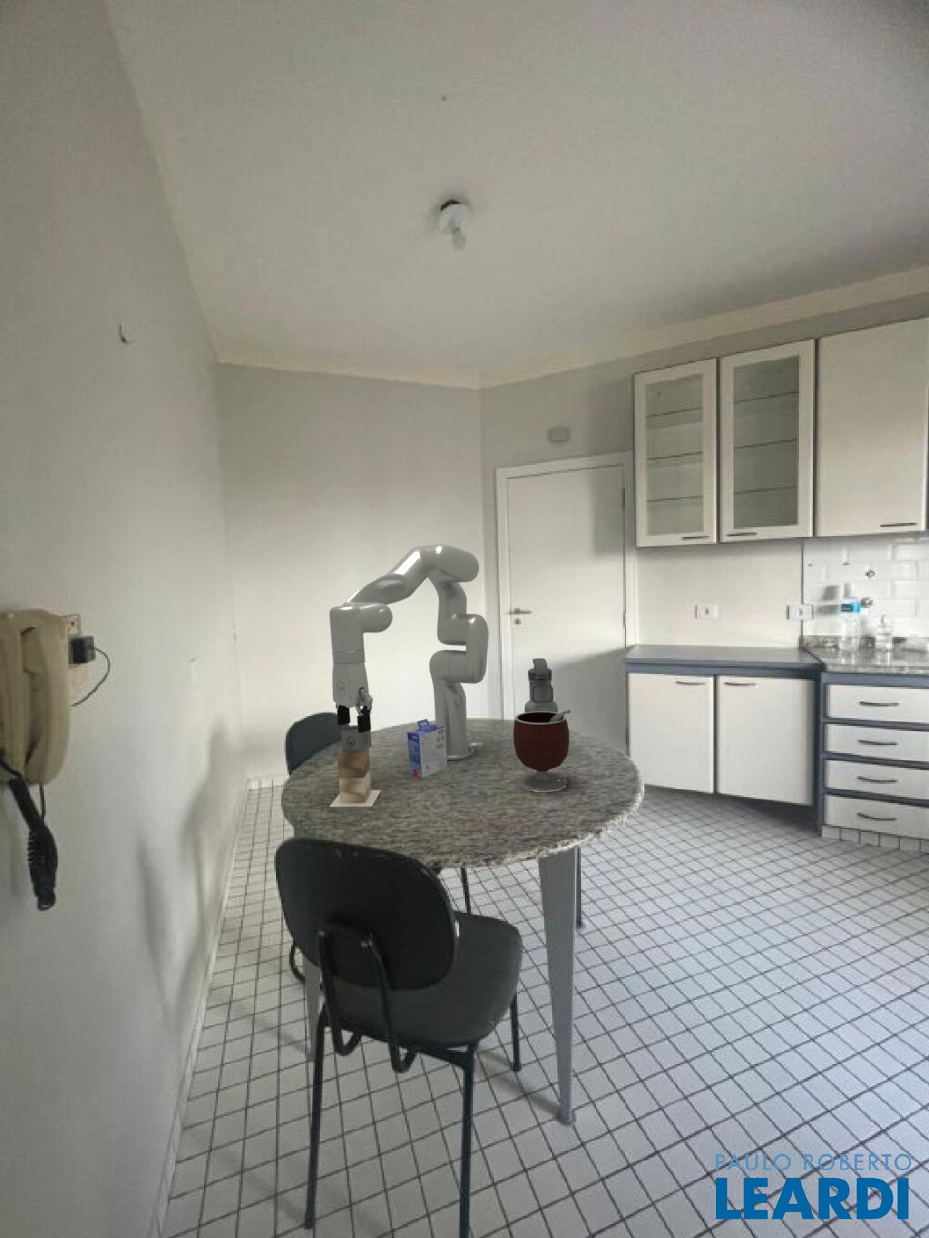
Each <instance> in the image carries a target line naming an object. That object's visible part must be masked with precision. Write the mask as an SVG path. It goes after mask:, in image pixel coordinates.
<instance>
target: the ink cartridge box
mask: <svg viewBox="0 0 929 1238" xmlns="http://www.w3.org/2000/svg"><path fill="white" fill-rule="evenodd" d="M422 723H423V725H421V724H422ZM424 723H426V724H424ZM417 724H418V729H415V730H412V731H408V732H407V733H406V734H407V746H408V758H409V773H410V775H413V776H416V777H419V778H426V777H428V776H430V775H433V774H436V773H438V772H441V771H444V770H447V769H448V760H447V754H446V738H445V727H443V726H438V725H435V724H430V723H429V719H427V718H424V719H421V720H418V721H417Z"/></svg>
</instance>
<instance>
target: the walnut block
mask: <svg viewBox="0 0 929 1238" xmlns="http://www.w3.org/2000/svg"><path fill="white" fill-rule="evenodd" d="M370 763H371V762H370V748H368V749H366V750H364V751H362V752H361V753H359V752H347V751H342V748H341V749H340V751H338V752H337V770H338V771H337V772H338V779H339V778H364V777H365V776H366V774H367V773H368V771H369V770H370V771H371V767H370V766H371V765H370Z"/></svg>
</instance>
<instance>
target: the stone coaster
mask: <svg viewBox="0 0 929 1238" xmlns="http://www.w3.org/2000/svg"><path fill="white" fill-rule="evenodd" d="M381 791H382V790H381V789H371V795H370V796H369V798H368V799H367V801H366V803H340V793H339V794H338V795H337V796H336V798H335V799H333V802H332V803H331V804H330V805H329V807H330V808H348V807H349V808H351V807H359V808H360V807H372V806H374V803H375V802H376V799H377V798H378V797H379V795H380V793H381Z"/></svg>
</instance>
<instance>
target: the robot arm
mask: <svg viewBox="0 0 929 1238" xmlns="http://www.w3.org/2000/svg"><path fill="white" fill-rule="evenodd" d="M479 570H480V563H479V561H478V559H477V557H476V556H475V555H474V554H473V553H471V552H469V551H467V550H464V549H462V548H461V549H460V548H457V547H454V546H450V545H448V544H439V543H438V544H430V545H428V544H427V545H420V546H416V547H414V548H412V549H410V550H409V551H408V552H407V553H406V554H405V555H404V556H403V557H402V558H401V560H399V562H398V563H397V564H395V565H394V566H393V568H391V569H390V571H388V572H387V573H385V574H384V575H381V576H380V577H378V578H376V579H374V580H372V581H371V582H369V583H367V584H365V585H364V586H362V587H360V588H359V589H357V590H356V591H355V592H353V594H352V595H350V597H349V598H348V599H347V600H346V601H345V602H344V603H343V604H342V605H338V606H333V607H331V608H330V610H329V626H330V639H331V641H330V642H331V651H332V652H331V654H332V675H331V676H332V677H331V678H332V680H331V682H332V683H331V685H332V700H333V702H334V703H335V709H336V716H337V717H336V719H337V725H338V726H345V725H349V724H351V712H350V711H351V709H350V708H352V709H353V708H354V709H355V710H356V712H357V714H358V715H356V722H357V726H358V732H359V733H362V732H366V731H370V730H372V721H371V714H372V709H373V701H374V700H373V697H372V695H370V689H369V681H368V674H367V669H366V653H365V643H364V641H365V640H364V634H366V633H367V634H369V633H370V634H372V633H373V634H376V633H377V634H378V633H382V632H385V631H386V630H388V628H390V626H391V625H392V622H393V619H394V618H393V612H392V609H391V608H390V607H389V606H388V605H390V604H391V605H392V604H395V603H398V602H401V601H404V600H405V599H408V598H410V597H411V596H413V594H414V593H415V592H416V590H418V588H419V587H420V586H421V585H422V584H423V583H424V582H425V580H426V579H428V580H429V581H430V582H431V584H432V585H433V587H434V589H435V591H436V594H437V596H438V611H437V625H436V634H437V635H436V636H437V640H438V641H439V642H440V643H441V644H442V645H446V646H455V647H457V646H460V647H463V646H464V647H465V650H460V649H442V650H439V651H435V653H434V652H433V654H432V655H431V657H430V658H429V661H428V662H429V663H428V664H429V665H428V667H429V673H430V677H431V681H432V688H433V698H434V699H433V700H434V702H433V703H434V722H435V724H434V725H438V726H443V727H445V738H446V754H447V761H457V760H463V759H466V758H467V759H468V758H469V757H472V756H473V754H474V749H477V750H478V749H480V750H481V749H482V750H483V747H484V744H483V741H480V740H471V739H470V735H468V717H467V714H468V713H467V696H466V692H465V689H464V687H463V686H462V684H470V685H471V684H472V685H473V684H474V685H475V684H479V683H480V682H482V681H483V680H484V678H485V677H486V672H487V667H488V651H489V650H488V649H489V639H490V638H489V636H490V635H489V633H490V632H489V625H488V623H487V620H486V618H485V617H483V616H482V615H480V614H477V613H467V609H468V607H467V606H468V605H467V604H468V603H467V602H468V600H467V599H468V598H467V594H466V592H465V590H464V588H463V587H462V585H461V584H460V583H469V582H472V581H475V579H476V578H477V577H478V576H479V575H478V574H479V572H480V571H479ZM361 707H362V708H361Z"/></svg>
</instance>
